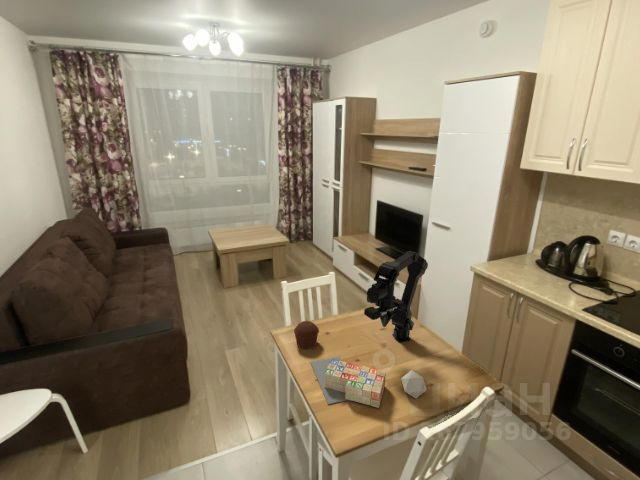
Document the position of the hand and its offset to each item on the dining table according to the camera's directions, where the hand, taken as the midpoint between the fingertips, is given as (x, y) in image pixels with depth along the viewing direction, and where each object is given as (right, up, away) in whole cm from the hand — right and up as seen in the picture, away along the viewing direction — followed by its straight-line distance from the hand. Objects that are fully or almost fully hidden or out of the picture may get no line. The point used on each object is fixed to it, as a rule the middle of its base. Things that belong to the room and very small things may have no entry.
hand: (384, 326), depth 145 cm
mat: (-22, -17, -12) cm, 30 cm away
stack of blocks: (-12, -14, -13) cm, 23 cm away
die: (+7, -20, -19) cm, 28 cm away
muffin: (-33, -10, +10) cm, 36 cm away
